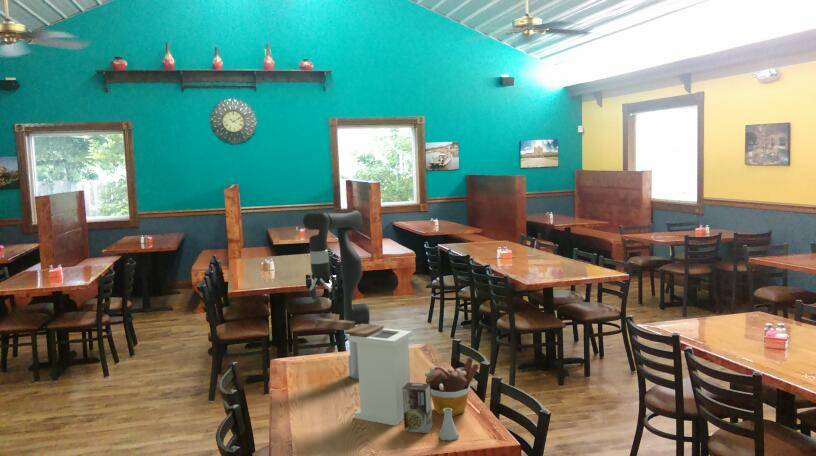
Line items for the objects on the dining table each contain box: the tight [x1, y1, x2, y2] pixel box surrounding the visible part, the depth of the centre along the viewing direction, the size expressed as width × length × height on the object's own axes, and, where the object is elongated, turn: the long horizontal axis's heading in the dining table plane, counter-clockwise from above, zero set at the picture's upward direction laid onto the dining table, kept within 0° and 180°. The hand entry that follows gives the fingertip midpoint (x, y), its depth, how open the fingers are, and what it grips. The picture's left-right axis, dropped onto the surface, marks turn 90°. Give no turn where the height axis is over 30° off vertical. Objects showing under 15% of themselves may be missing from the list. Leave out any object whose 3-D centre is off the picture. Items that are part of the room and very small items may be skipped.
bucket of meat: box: [424, 356, 479, 417], centre depth 251 cm, size 20×16×20 cm
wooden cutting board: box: [314, 317, 384, 336], centre depth 255 cm, size 27×12×3 cm, turn 61°
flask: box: [438, 408, 460, 442], centre depth 229 cm, size 7×7×10 cm
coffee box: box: [402, 382, 434, 434], centre depth 236 cm, size 9×6×16 cm
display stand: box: [347, 328, 413, 426], centre depth 249 cm, size 20×14×32 cm
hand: (323, 299), depth 269 cm, fingers open, 8 cm apart
